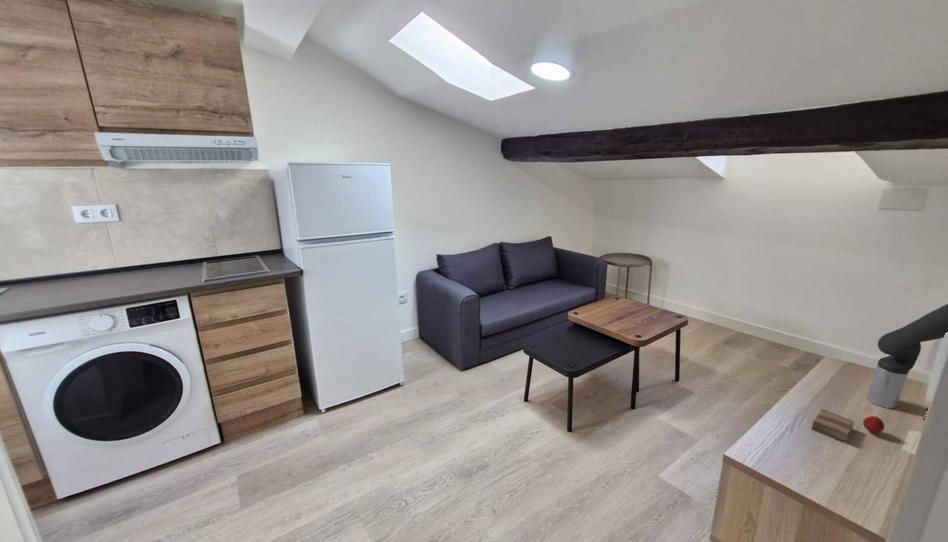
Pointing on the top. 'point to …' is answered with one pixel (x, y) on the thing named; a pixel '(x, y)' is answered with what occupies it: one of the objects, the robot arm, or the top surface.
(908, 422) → the top surface
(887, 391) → the robot arm
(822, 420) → the plinth
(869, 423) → the pomegranate
